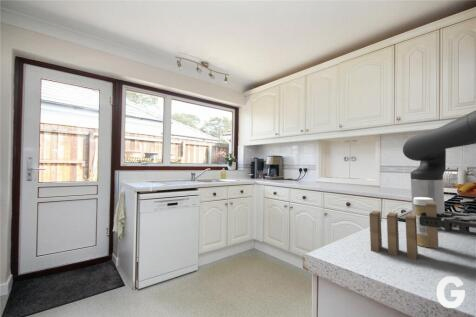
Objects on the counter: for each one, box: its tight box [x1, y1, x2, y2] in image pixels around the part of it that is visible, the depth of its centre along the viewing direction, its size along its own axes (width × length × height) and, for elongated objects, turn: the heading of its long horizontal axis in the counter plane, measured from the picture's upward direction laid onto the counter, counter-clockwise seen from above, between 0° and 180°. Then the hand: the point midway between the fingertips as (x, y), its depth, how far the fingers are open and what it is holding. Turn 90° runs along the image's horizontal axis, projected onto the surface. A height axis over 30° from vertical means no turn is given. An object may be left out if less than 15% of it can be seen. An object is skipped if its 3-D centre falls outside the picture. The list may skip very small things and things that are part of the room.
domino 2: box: [405, 213, 419, 260], centre depth 59 cm, size 5×2×10 cm, turn 139°
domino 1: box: [386, 211, 400, 257], centre depth 62 cm, size 5×2×10 cm, turn 139°
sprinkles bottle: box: [413, 197, 434, 248], centre depth 66 cm, size 5×5×13 cm
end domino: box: [369, 210, 383, 253], centre depth 64 cm, size 5×2×10 cm, turn 139°
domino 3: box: [426, 202, 439, 249], centre depth 56 cm, size 5×2×10 cm, turn 138°
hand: (420, 218), depth 58 cm, fingers closed on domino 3, 5 cm apart
